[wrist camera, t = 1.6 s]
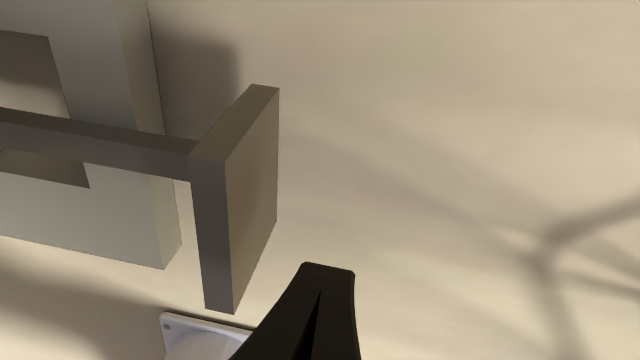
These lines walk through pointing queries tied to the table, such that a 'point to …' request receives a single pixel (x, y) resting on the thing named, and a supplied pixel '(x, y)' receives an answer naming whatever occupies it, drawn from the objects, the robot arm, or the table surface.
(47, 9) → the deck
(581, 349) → the table surface
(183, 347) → the robot arm
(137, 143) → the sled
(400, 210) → the table surface
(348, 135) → the table surface
